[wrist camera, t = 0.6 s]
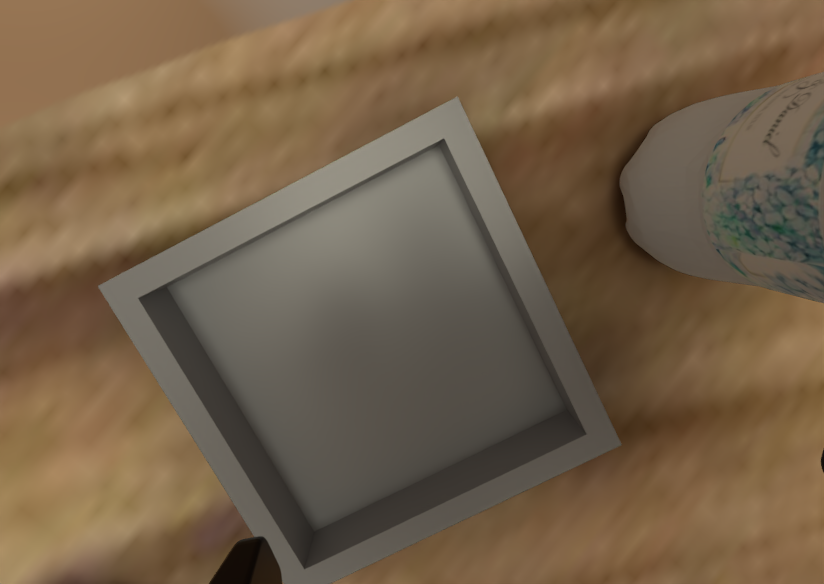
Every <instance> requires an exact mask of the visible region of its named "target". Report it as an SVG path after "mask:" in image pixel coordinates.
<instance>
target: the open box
mask: <svg viewBox="0 0 824 584" xmlns="http://www.w3.org/2000/svg"><path fill="white" fill-rule="evenodd" d="M98 287H99V289H100V290H101V292H102V294H103V295H104V297H105V298H106V300H107V302H108V303H109V305H110V306H111V308H112V310H113V311H114V313H115V314H116V316H117V318H118V319H119V321H120V322H121V324H122V326H123V327H124V329H125V330H126V332H127V334H128V335H129V337H130V338H131V340H132V342H133V343H134V345H135V346H136V348H137V350H138V351H139V353H140V354H141V356H142V358H143V359H144V361H145V362H146V364H147V366H148V367H149V369H150V370H151V372H152V374H153V375H154V377H155V378H156V380H157V382H158V383H159V385H160V386H161V388H162V390H163V391H164V393H165V394H166V396H167V398H168V399H169V401H170V402H171V404H172V406H173V407H174V409H175V410H176V412H177V414H178V415H179V417H180V418H181V420H182V422H183V423H184V425H185V426H186V428H187V430H188V431H189V433H190V434H191V436H192V438H193V439H194V441H195V442H196V444H197V446H198V447H199V449H200V450H201V452H202V454H203V455H204V457H205V458H206V460H207V462H208V463H209V465H210V466H211V468H212V470H213V471H214V473H215V474H216V476H217V478H218V479H219V481H220V482H221V484H222V486H223V487H224V489H225V490H226V492H227V494H228V495H229V497H230V498H231V500H232V502H233V503H234V505H235V506H236V508H237V510H238V511H239V513H240V514H241V516H242V518H243V519H244V521H245V522H246V524H247V526H248V527H249V529H250V530H251V532H252V534H253V535H254V537H258V536H263V537H264V538H266V540H267V541H268V543H269V545H270V547H271V549H272V551H273V554H274V556H275V558H276V560H277V562H278V564H279V566H280V569H281V574H282V582H283V583H284V584H331V583H333V582H335V581H337V580H339V579H341V578H343V577H345V576H347V575H349V574H352V573H354V572H356V571H358V570H360V569H362V568H364V567H366V566H368V565H370V564H373V563H375V562H377V561H379V560H381V559H383V558H385V557H387V556H389V555H391V554H394V553H396V552H398V551H400V550H402V549H404V548H406V547H408V546H410V545H412V544H415V543H417V542H419V541H421V540H423V539H425V538H427V537H429V536H431V535H434V534H436V533H438V532H440V531H442V530H444V529H446V528H448V527H450V526H452V525H455V524H457V523H459V522H461V521H463V520H465V519H467V518H469V517H471V516H473V515H476V514H478V513H480V512H482V511H484V510H486V509H488V508H490V507H492V506H494V505H497V504H499V503H501V502H503V501H505V500H507V499H509V498H511V497H513V496H515V495H518V494H520V493H522V492H524V491H526V490H528V489H530V488H532V487H534V486H537V485H539V484H541V483H543V482H545V481H547V480H549V479H551V478H553V477H555V476H558V475H560V474H562V473H564V472H566V471H568V470H570V469H572V468H574V467H576V466H579V465H581V464H583V463H585V462H587V461H589V460H591V459H593V458H595V457H597V456H600V455H602V454H604V453H606V452H608V451H610V450H612V449H614V448H616V447H618V446H621V445H622V444H621V442H620V440H619V438H618V436H617V434H616V432H615V430H614V427H613V425H612V423H611V421H610V419H609V417H608V415H607V413H606V410H605V408H604V406H603V404H602V402H601V400H600V398H599V396H598V393H597V391H596V389H595V387H594V385H593V383H592V381H591V379H590V376H589V374H588V372H587V370H586V368H585V366H584V364H583V362H582V360H581V357H580V355H579V353H578V351H577V349H576V347H575V345H574V343H573V340H572V338H571V336H570V334H569V332H568V330H567V328H566V326H565V323H564V321H563V319H562V317H561V315H560V313H559V311H558V309H557V306H556V304H555V302H554V300H553V298H552V296H551V294H550V292H549V289H548V287H547V285H546V283H545V281H544V279H543V277H542V275H541V272H540V270H539V268H538V266H537V264H536V262H535V260H534V258H533V256H532V253H531V251H530V249H529V247H528V245H527V243H526V241H525V239H524V236H523V234H522V232H521V230H520V228H519V226H518V224H517V222H516V219H515V217H514V215H513V213H512V211H511V209H510V207H509V205H508V202H507V200H506V198H505V196H504V194H503V192H502V190H501V188H500V185H499V183H498V181H497V179H496V177H495V175H494V173H493V171H492V168H491V166H490V164H489V162H488V160H487V158H486V156H485V154H484V151H483V149H482V147H481V145H480V143H479V141H478V139H477V137H476V135H475V132H474V130H473V128H472V126H471V124H470V122H469V120H468V118H467V115H466V113H465V111H464V109H463V107H462V105H461V103H460V101H459V98H458V97H456V98H454V99H452V100H450V101H448V102H446V103H444V104H442V105H441V106H439V107H437V108H435V109H433V110H431V111H429V112H427V113H425V114H423V115H422V116H420V117H418V118H416V119H414V120H412V121H410V122H408V123H406V124H404V125H403V126H401V127H399V128H397V129H395V130H393V131H391V132H389V133H387V134H385V135H384V136H382V137H380V138H378V139H376V140H374V141H372V142H370V143H368V144H367V145H365V146H363V147H361V148H359V149H357V150H355V151H353V152H351V153H349V154H348V155H346V156H344V157H342V158H340V159H338V160H336V161H334V162H332V163H330V164H329V165H327V166H325V167H323V168H321V169H319V170H317V171H315V172H313V173H311V174H310V175H308V176H306V177H304V178H302V179H300V180H298V181H296V182H294V183H292V184H291V185H289V186H287V187H285V188H283V189H281V190H279V191H277V192H275V193H273V194H272V195H270V196H268V197H266V198H264V199H262V200H260V201H258V202H256V203H255V204H253V205H251V206H249V207H247V208H245V209H243V210H241V211H239V212H237V213H236V214H234V215H232V216H230V217H228V218H226V219H224V220H222V221H220V222H218V223H217V224H215V225H213V226H211V227H209V228H207V229H205V230H203V231H201V232H199V233H198V234H196V235H194V236H192V237H190V238H188V239H186V240H184V241H182V242H180V243H179V244H177V245H175V246H173V247H171V248H169V249H167V250H165V251H163V252H162V253H160V254H158V255H156V256H154V257H152V258H150V259H148V260H146V261H144V262H143V263H141V264H139V265H137V266H135V267H133V268H131V269H129V270H127V271H125V272H124V273H122V274H120V275H118V276H116V277H114V278H112V279H110V280H108V281H106V282H105V283H103V284H101V285H99V286H98Z"/></svg>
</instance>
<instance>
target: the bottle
mask: <svg viewBox="0 0 824 584" xmlns="http://www.w3.org/2000/svg"><path fill="white" fill-rule="evenodd" d="M620 189H621V191H622V194H623V197H624V203H625V210H626V217H627V221H626V224H625V226H626V230H627V232H628V233H629V235H630V237H631V238H632V240H633V241H634V242H635V243H636V244H637V245H639V246H640V247H641V248H642V249H644V250H645V251H646V252H647V253H649V254H650V255H651V256H652V257H654V258H655V259H656V260H657V261H659V262H661V263H663V264H665V265H666V266H668V267H670V268H672V269H674V270H676V271H679V272H682V273H685V274H688V275H691V276H696V277H701V278H705V279H710V280H717V281H725V282H732V283H739V284H746V285H753V286H760V287H764V288H767V289H770V290H774V291H778V292H782V293H786V294H790V295H794V296H798V297H802V298H806V299H810V300H813V301H817V302H821V303H824V72H822V73H818V74H815V75H812V76H808V77H805V78H801V79H798V80H794V81H791V82H788V83H785V84H782V85H779V86H774V87H769V88H763V89H757V90H752V91H746V92H740V93H735V94H730V95H726V96H721V97H717V98H713V99H709V100H706V101H702V102H699V103H696V104H693V105H690V106H688V107H686V108H684V109H681V110H679V111H677V112H675V113H672V114H670V115H669V116H667V117H666V118H664V119H663V120H661V121H660V122H658V123H657V124H655V125H654V126H653V127H652V128H651V129H650V131H649V132H648V134H647V137H646V138H645V140H644V141H643V143H642V144H641V146H640V147H639V148H638V150H637V151H636V153H635V154H634V156H633V157H632V158H631V160H630V161H629V162H628V163H627V164H626V165H625V167H624V169H623V171H622V173H621V176H620Z"/></svg>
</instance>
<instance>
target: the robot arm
mask: <svg viewBox="0 0 824 584" xmlns="http://www.w3.org/2000/svg"><path fill="white" fill-rule="evenodd" d="M821 466H822V470H823V472H824V450H823V454H822V457H821ZM209 584H282V574H281V569H280V566H279V564H278V562H277V560H276V558H275V556H274V554H273V551H272V549H271V547H270V545H269V543H268V541H267V540H266V538H264V537H263V536H258V537H253V538H247V539H243V540H240V541H238V542H237V543H236V544H235V545H234V547H233V548H232V549H231V551H230V552H229V554H228V555H227V557H226V558H225V560H224V561H223V563H222V564H221V566H220V568H219V569H218V571H217V572H216V574H215V575H214V577H213V578H212V580H211V581H210V583H209Z"/></svg>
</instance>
